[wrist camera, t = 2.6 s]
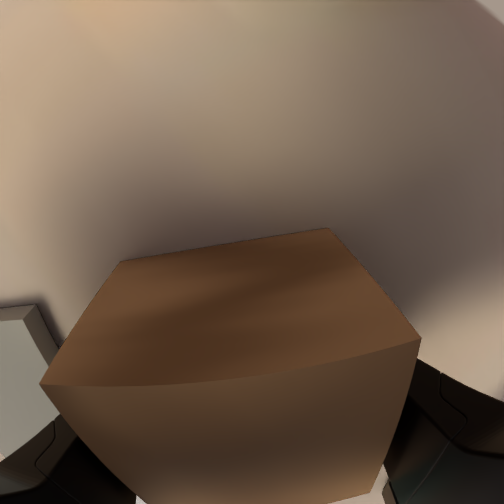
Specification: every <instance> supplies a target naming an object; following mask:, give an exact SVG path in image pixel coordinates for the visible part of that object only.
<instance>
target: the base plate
mask: <svg viewBox="0 0 504 504" xmlns="http://www.w3.org/2000/svg"><path fill="white" fill-rule="evenodd" d="M58 351H59V349H58V348H57V346H56V344H55V342H54V340H53V338H52V336H51V334H50V333H49V331H48V329H47V327H46V325H45V323H44V321H43V318H42V316H41V314H40V312H39V310H38V308H37V306H36V304H35V305H26V306H18V307H9V308H0V453H1V454H2V455H3V456H4V457H5V458H6V457H8V456H9V455H10V454H12V453H13V452H14V451H16V450H17V449H18V448H20V447H21V446H22V445H24V444H25V443H26V442H28V441H29V440H30V439H31V438H33V437H34V436H35V435H36V434H38V433H39V432H40V431H41V430H42V429H43V428H44V427H46V426H47V425H48V424H49V423H50V422H51V421H52V420H54V419H55V418H56V417H57V416H58V415H59V414H60V413H59V411H58V410H57V409H56V407H55V406H54V405H53V403H52V402H51V401H50V399H49V398H48V396H47V395H46V394H45V392H44V391H43V389H42V388H41V386H40V385H39V383H40V381H41V379H42V377H43V376H44V374H45V372H46V371H47V369H48V367H49V366H50V364H51V362H52V361H53V359H54V357H55V356H56V354H57V353H58Z"/></svg>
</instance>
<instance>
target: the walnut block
mask: <svg viewBox="0 0 504 504" xmlns="http://www.w3.org/2000/svg"><path fill="white" fill-rule="evenodd" d="M420 343H421V337H420V336H419V334H418V333H417V332H416V330H415V329H414V328H413V327H412V325H411V324H410V323H409V322H408V320H407V319H406V318H405V317H404V315H403V314H402V313H401V312H400V310H399V309H398V308H397V307H396V305H395V304H394V303H393V302H392V300H391V299H390V298H389V297H388V296H387V294H386V293H385V292H384V291H383V290H382V288H381V287H380V286H379V285H378V284H377V282H376V281H375V280H374V279H373V278H372V277H371V275H370V274H369V273H368V272H367V271H366V270H365V268H364V267H363V266H362V265H361V264H360V263H359V261H358V260H357V259H356V258H355V257H354V256H353V255H352V253H351V252H350V251H349V250H348V249H347V248H346V247H345V246H344V244H343V243H342V242H341V241H340V240H339V239H338V238H337V237H336V236H335V234H334V233H333V232H332V231H331V230H330V229H329V228H324V229H318V230H311V231H305V232H298V233H292V234H286V235H279V236H273V237H266V238H260V239H254V240H248V241H241V242H235V243H229V244H223V245H217V246H210V247H204V248H198V249H192V250H186V251H180V252H174V253H168V254H162V255H156V256H150V257H144V258H138V259H133V260H127V261H121V262H120V263H119V264H118V265H117V267H116V268H115V269H114V271H113V272H112V273H111V275H110V276H109V277H108V279H107V280H106V282H105V283H104V284H103V286H102V287H101V288H100V290H99V291H98V293H97V294H96V296H95V297H94V298H93V300H92V301H91V303H90V304H89V306H88V307H87V308H86V310H85V311H84V313H83V314H82V316H81V317H80V319H79V320H78V322H77V323H76V325H75V326H74V328H73V329H72V331H71V332H70V334H69V335H68V337H67V338H66V340H65V342H64V343H63V345H62V346H61V348H60V349H59V351H58V353H57V354H56V356H55V357H54V359H53V361H52V362H51V364H50V366H49V367H48V369H47V371H46V372H45V374H44V376H43V377H42V379H41V381H40V383H39V385H40V386H41V388H42V389H43V391H44V392H45V394H46V395H47V396H48V398H49V399H50V401H51V402H52V403H53V405H54V406H55V407H56V409H57V410H58V411H59V413H60V414H61V415H62V416H63V418H64V419H65V420H66V422H67V423H68V424H69V425H70V427H71V428H72V429H73V430H74V431H75V433H76V434H77V435H78V436H79V437H80V438H81V440H82V441H83V442H84V443H85V444H86V445H87V446H88V447H89V449H90V450H91V451H92V452H93V453H94V454H95V455H96V456H97V457H98V458H99V459H100V460H101V461H102V463H103V464H104V465H105V466H106V467H107V468H108V469H109V470H110V471H111V472H112V473H113V474H114V475H115V476H116V477H118V478H119V479H120V480H121V481H122V482H123V483H124V484H125V485H126V486H127V487H128V488H129V489H130V490H132V491H133V492H134V493H135V494H136V495H137V496H138V497H139V498H141V499H142V500H143V501H144V502H145V503H147V504H327V503H332V502H336V501H340V500H344V499H348V498H352V497H355V496H359V495H362V494H366V493H369V492H370V491H371V489H372V487H373V485H374V482H375V480H376V478H377V476H378V473H379V471H380V469H381V466H382V464H383V462H384V459H385V457H386V454H387V452H388V449H389V447H390V444H391V441H392V439H393V436H394V433H395V430H396V428H397V425H398V422H399V419H400V416H401V413H402V410H403V407H404V403H405V400H406V397H407V393H408V390H409V387H410V383H411V379H412V376H413V372H414V368H415V364H416V360H417V356H418V351H419V347H420Z"/></svg>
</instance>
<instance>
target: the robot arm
mask: <svg viewBox="0 0 504 504" xmlns="http://www.w3.org/2000/svg"><path fill="white" fill-rule="evenodd" d="M440 373H441V372H440V371H439V370H437V369H435V368H433V367H432V366H430V365H428V364H426V363H425V362H423V361H421V360H420V359H418V358H417V360H416V364H415V368H414V372H413V376H412V379H411V383H410V387H409V390H408V393H407V397H406V400H405V403H404V407H403V410H402V413H401V416H400V419H399V422H398V425H397V428H396V430H395V433H394V436H393V439H392V441H391V444H390V447H389V449H388V452H387V454H386V457H385V459H384V462H383V465H384V467H385V469H386V472H387V474H388V477H389V480H388V482H387V484H386V486H385V488H384V489H383V491H382V495H383V498H384V501H385V504H504V402H502V401H500V400H498V399H495V398H493V397H491V396H488V395H486V394H484V393H481V392H479V391H477V390H475V389H472V388H470V387H468V386H466V385H464V384H462V383H460V382H458V381H457V380H455V379H453V378H451V377H449V376H448V375H446V374H444V373H441V374H440ZM0 504H136V494H135V493H134V492H133V491H132V490H130V489H129V488H128V487H127V486H126V485H125V484H124V483H123V482H122V481H121V480H120V479H119V478H118V477H116V476H115V475H114V474H113V473H112V472H111V471H110V470H109V469H108V468H107V467H106V466H105V465H104V464H103V463H102V461H101V460H100V459H99V458H98V457H97V456H96V455H95V454H94V453H93V452H92V451H91V450H90V449H89V447H88V446H87V445H86V444H85V443H84V442H83V441H82V440H81V438H80V437H79V436H78V435H77V434H76V433H75V431H74V430H73V429H72V428H71V427H70V425H69V424H68V423H67V422H66V420H65V419H64V418H63V416H62V415H61V414H59V415H58V416H57V417H56V418H55V419H54V420H52V421H51V422H50V423H49V424H48V425H47V426H46V427H44V428H43V429H42V430H41V431H40V432H39V433H38V434H36V435H35V436H34V437H33V438H31V439H30V440H29V441H28V442H26V443H25V444H24V445H22V446H21V447H20V448H18V449H17V450H16V451H14V452H13V453H12V454H10V455H9V456H8V457H6V458H5V459H4V460H2V461H1V462H0Z"/></svg>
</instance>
